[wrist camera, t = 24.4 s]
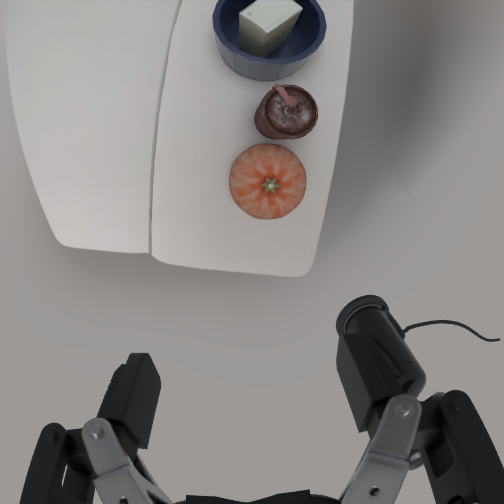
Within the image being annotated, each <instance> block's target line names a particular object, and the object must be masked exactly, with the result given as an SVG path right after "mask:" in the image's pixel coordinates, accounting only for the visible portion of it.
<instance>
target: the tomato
mask: <svg viewBox="0 0 504 504" xmlns="http://www.w3.org/2000/svg"><path fill="white" fill-rule="evenodd" d="M229 186H230V192H231V195H232V197H233V199H234V201H235V202H236V204H237V205H238V206H239V207H240V208H241V209H242V210H243V211H244V212H246V213H247V214H248V215H250V216H252V217H255V218H259V219H277V218H281V217H283V216H285V215H287V214H289V213H290V212H291V211H293V210H294V209H295V208H296V207H297V206H298V205H299V203H300V202H301V201H302V199H303V197H304V194H305V190H306V172H305V169H304V166H303V165H302V163H301V161H300V160H299V159H298V157H297V156H296V155H295V154H294V153H293V152H292V151H290V150H289V149H287V148H286V147H283V146H280V145H276V144H258V145H255V146H252V147H250V148H249V149H247V150H246V151H244V152H243V153H242V154H241V155H240V156H239V157H238V158H237V159H236V160H235V162H234V163H233V165H232V168H231V171H230V178H229Z"/></svg>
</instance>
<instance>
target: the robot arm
mask: <svg viewBox="0 0 504 504" xmlns="http://www.w3.org/2000/svg"><path fill="white" fill-rule="evenodd" d="M439 323H446V324H454V325H458V326H461V327H464V328H466V329H467V330H469V331H470V332H472V333H473V334H475V335H477V336H478V337H479V338H481V339H483V340H485V341H489V342H494V341H500V339H487V338H485V337H482V336H481V335H479V334H478V333H477V332H475V331H474V330H472V329H471V328H470V327H468V326H466V325H464V324H462V323H459V322H455V321H449V320H437V321H428V322H423V323H418V324H414V325H411V326H408V327H406V328H405V329H404V330H402V329H401V327H400V326H399V324H398V323H397V322H396V320H395V319H394V318H393V316H392V315H391V314H390V312H389V311H388V310H387V308H386V307H385V306H383V307H381V306H379V305H378V304H374V303H368V304H364V305H361V306H359V307H357V308H356V309H354V310H353V311H352V312H351V313H350V314H349V315H348V316H347V318H346V319H345V322H344V325H343V330H344V334H340V336H339V343H338V352H337V358H336V365H337V371H338V374H339V377H340V380H341V382H342V385H343V388H344V391H345V393H346V396H347V399H348V402H349V405H350V408H351V410H352V413H353V416H354V419H355V422H356V425H357V428H358V431H359V433H360V432H364V431H368V434H369V437H370V440H369V443H368V445H367V447H366V449H365V451H364V453H363V456H362V458H361V460H360V462H359V464H358V466H357V468H356V470H355V471H354V473H353V475H352V477H351V479H350V480H349V482H348V484H347V485H346V487H345V489H344V491H343V492H342V494H341V496H340V497H339V499H338V500H337V499H334V498H331V497H328V496H324V495H316V494H310V490H309V489H308V490H303V491H296V492H289V493H281V494H276V495H273V496H270V497H267V498H263V499H260V500H256V501H252V502H246V503H245V502H239V501H234V500H229V499H224V498H220V497H216V496H215V497H214V496H194V495H186V500H185V501H180V502H176V503H174V504H394V502H395V500H396V498H397V495H398V493H399V491H400V489H401V486H402V484H403V481H404V479H405V476H406V473H407V471H408V470H415V469H417V468H419V467H421V466H422V465H424V466H425V469H426V471H427V475H428V478H429V481H430V484H431V488H432V491H433V494H434V498H435V502H436V504H504V468H503V465H502V463H501V461H500V458H499V456H498V454H497V451H496V449H495V447H494V445H493V443H492V441H491V438H490V436H489V434H488V432H487V430H486V428H485V426H484V424H483V422H482V420H481V418H480V416H479V414H478V412H477V410H476V409H475V407H474V405H473V403H472V401H471V399H470V398H469V396H468V395H467V394H466V393H464V392H462V391H459V390H452V391H449V392H447V393H444V392H437V393H435V394H434V395H432V396H430V397H429V398H428V399H426V400H425V401H423V402H422V401H418V400H417V399H416V398H417V397H418V396H419V394H420V392H421V391H422V390H423V388H424V386H425V383H426V374H425V373H424V370H423V369H422V367H421V366H420V364H419V363H418V361H417V360H416V358H415V357H414V355H413V354H412V352H411V351H410V349H409V348H408V346H407V344H406V343H405V341H404V338H405V333H406V332H408V330H410V329H413V328H416V327H420V326H424V325H430V324H439ZM160 390H161V380H160V376H159V374H158V372H157V370H156V368H155V365H154V363H153V361H152V359H151V357H150V355H149V354H148V353H131V354H130V355H129V357H128V360H127V363H126V364H122V365H120V367H119V368H118V369H117V370H116V371H115V372H114V374H113V377H112V379H111V383H110V384H109V386H108V391H106V394H105V396H104V399H103V402H102V404H101V407H100V409H99V412H98V415H97V417H96V418H94V419H91V420H89V421H88V422H87V423H86V424H85V425H84V427H83V428H81V429H72V430H66V429H65V428H64V427H63V426H62V425H60V424H58V423H50V424H48V425H46V426H45V427H44V428H43V430H42V432H41V434H40V437H39V440H38V442H37V445H36V448H35V451H34V454H33V457H32V460H31V463H30V466H29V470H28V473H27V476H26V480H25V484H24V487H23V491H22V495H21V499H20V504H93V497H94V491H95V488H96V490H97V492H98V494H99V496H100V499H101V501H102V502H103V504H173V503H172V501H171V500H170V499H169V498H168V497H167V496H166V494H165V493H164V492H163V491H162V490H161V489H160V488H159V486H158V485H157V483H156V482H155V480H154V479H153V477H152V476H151V474H150V473H149V471H148V469H147V468H146V466H145V464H144V463H143V461H142V459H141V458H140V456H139V454H138V453H137V450H138V448H141V449H147V447H148V443H149V438H150V433H151V429H152V424H153V420H154V415H155V411H156V407H157V402H158V398H159V394H160ZM66 465H67V466H68V467H67V471H66V475H65V479H64V483H63V487H62V479H63V475H64V471H65V467H66Z"/></svg>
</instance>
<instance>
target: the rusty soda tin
mask: <svg viewBox="0 0 504 504" xmlns="http://www.w3.org/2000/svg"><path fill="white" fill-rule="evenodd" d="M317 118H318V108H317V105H316V103H315V100H314V99H313V97H312V96H311V95H310V94H309V93H308V92H307V91H306V90H304V89H303V88H301V87H298V86H295V85H278V84H276V85H274V86H273V87H272V90H270V91H269V92H268V93H267V94H266V95H265V97H264V98H263V100H262V101H261V103H260V105H259V107H258V108H257V110H256V113H255V116H254V120H255V125H256V128H257V130H258V131H259V132H260V133H261V134H262V135H264V136H265V137H267V138H271V139H297V138H301V137H304V136H305V135H306V134H308V133H309V132H311V130H312V129H313V127H314V126H315V125H316V121H317Z"/></svg>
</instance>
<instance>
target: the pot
mask: <svg viewBox="0 0 504 504" xmlns="http://www.w3.org/2000/svg"><path fill="white" fill-rule="evenodd" d="M255 1H257V0H219V1H218V2H217V4H216V7H215V10H214V13H213V16H212V17H213V27H214V32H215V36H216V40H217V44H218V48H219V52H220V54H221V56H222V58H223V60H224V62H225V63H226V64H227V65H228V66H229V67H230V68H231V69H232V70H233V71H235V72H236V73H238V74H239V75H242V76H244V77H246V78H249V79H253V80H259V81H272V80H278V79H282V78H284V77H287V76H289V75H291V74H292V73H294V72H295V71H296V70H298V69H299V68H300V67H301V66H302V65H303V64H304V63H305V62H306V61H307V60H308V58H309V57H310V56H311V55H312V54H313V53H314V52H315V51H316V50H317V48H318V47H319V46H320V44H321V43H322V41H323V40H324V37H325V32H326V27H327V26H326V21H325V16H324V12H323V11H322V9H321V8H320V6H319V4H318V3H317V1H316V0H294V1H295V2H296V3H297V4H299V5H300V6H301V7H302V8H303V9H302V11H301V13H300V15H299V17H298V19H297V21H296V23H295V25H294V27H293V29H292V31H291V33H290V35H289V37H288V39H287V41H286V42H285V43H283V44H282V45H281V46H280V47H278V48H277V49H276V50H275V51H273V52H272V53H271V54H269V55H268V56H267V57H266V58H261V57H256V56H252V55H250V54H248V53H246V52H245V51H244V50H243V49H242V48H240V47H239V13H240V12H241V11H243V10H244V9H245V8H247V7H248V6H249V5H251V4H252V3H254V2H255Z"/></svg>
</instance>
